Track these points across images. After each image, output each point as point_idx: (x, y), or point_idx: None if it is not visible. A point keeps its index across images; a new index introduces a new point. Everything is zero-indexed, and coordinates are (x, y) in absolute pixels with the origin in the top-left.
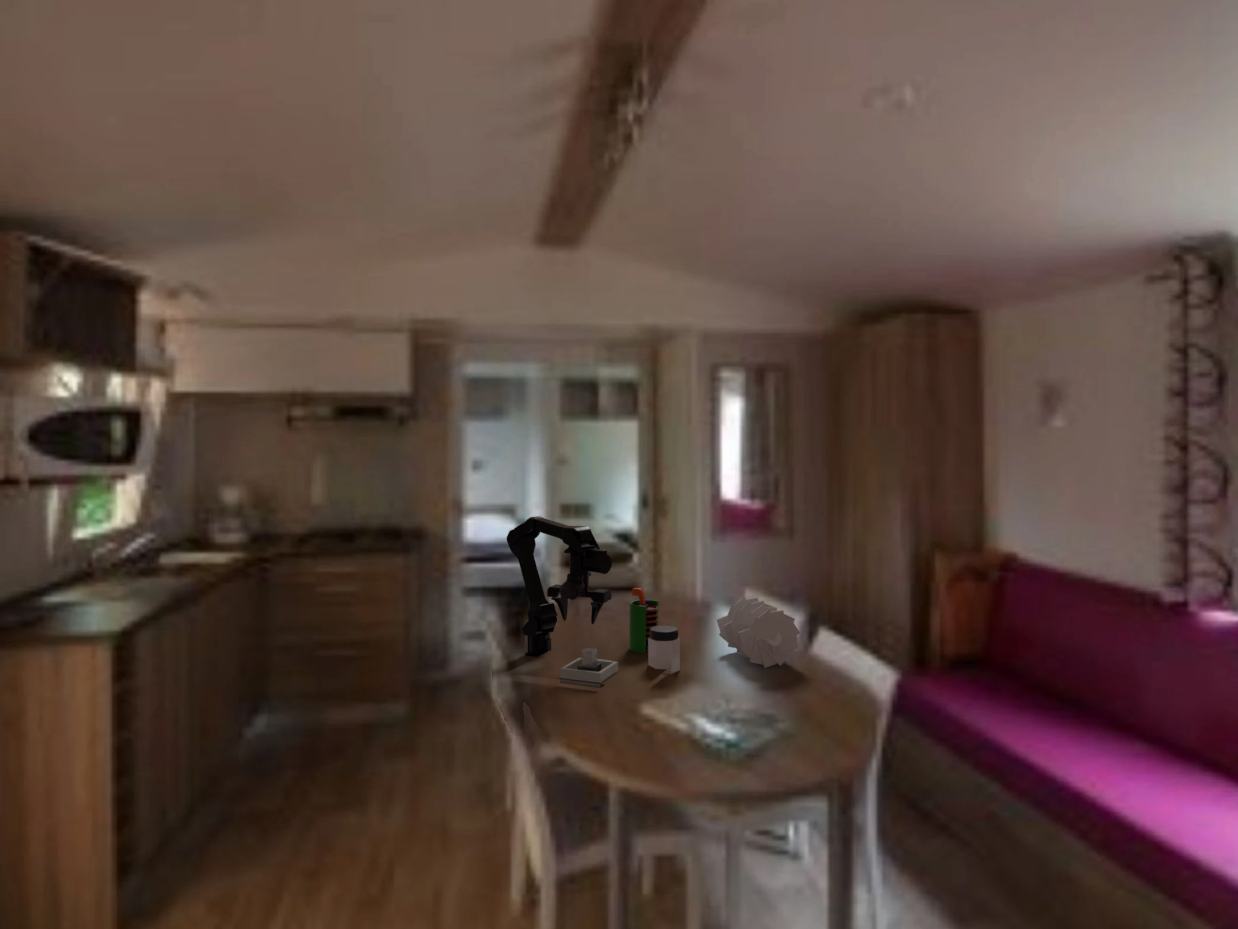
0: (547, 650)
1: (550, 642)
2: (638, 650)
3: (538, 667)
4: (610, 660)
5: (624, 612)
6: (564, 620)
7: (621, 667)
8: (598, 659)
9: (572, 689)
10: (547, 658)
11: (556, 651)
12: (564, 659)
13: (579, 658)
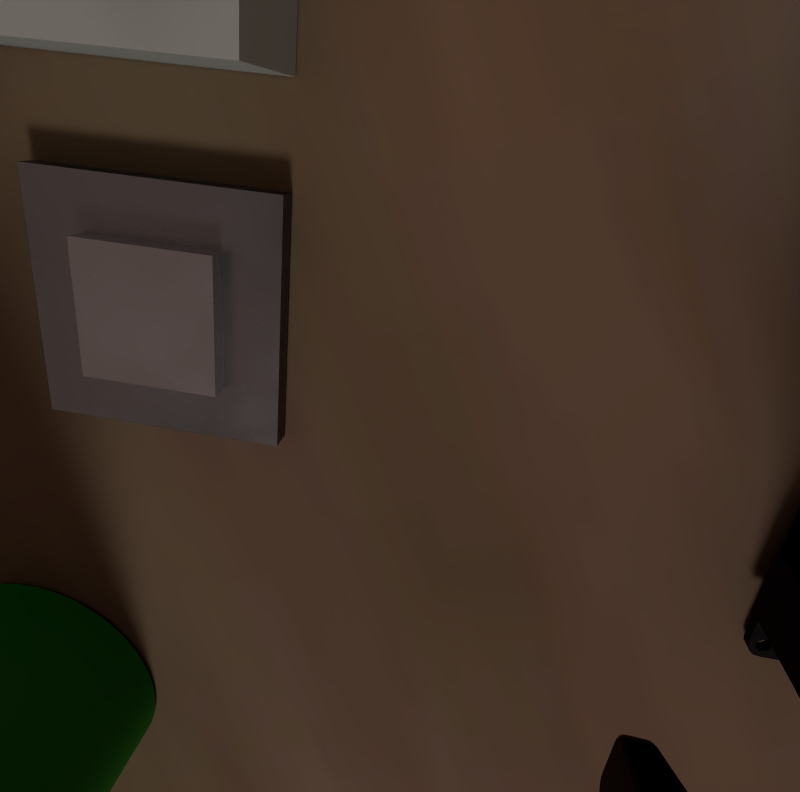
0: (791, 568)
1: (796, 666)
2: (7, 625)
3: (797, 114)
4: (92, 368)
5: None
6: (626, 737)
7: (18, 325)
8: (205, 378)
9: None
10: (753, 460)
11: (710, 660)
12: (576, 457)
13: (217, 16)
